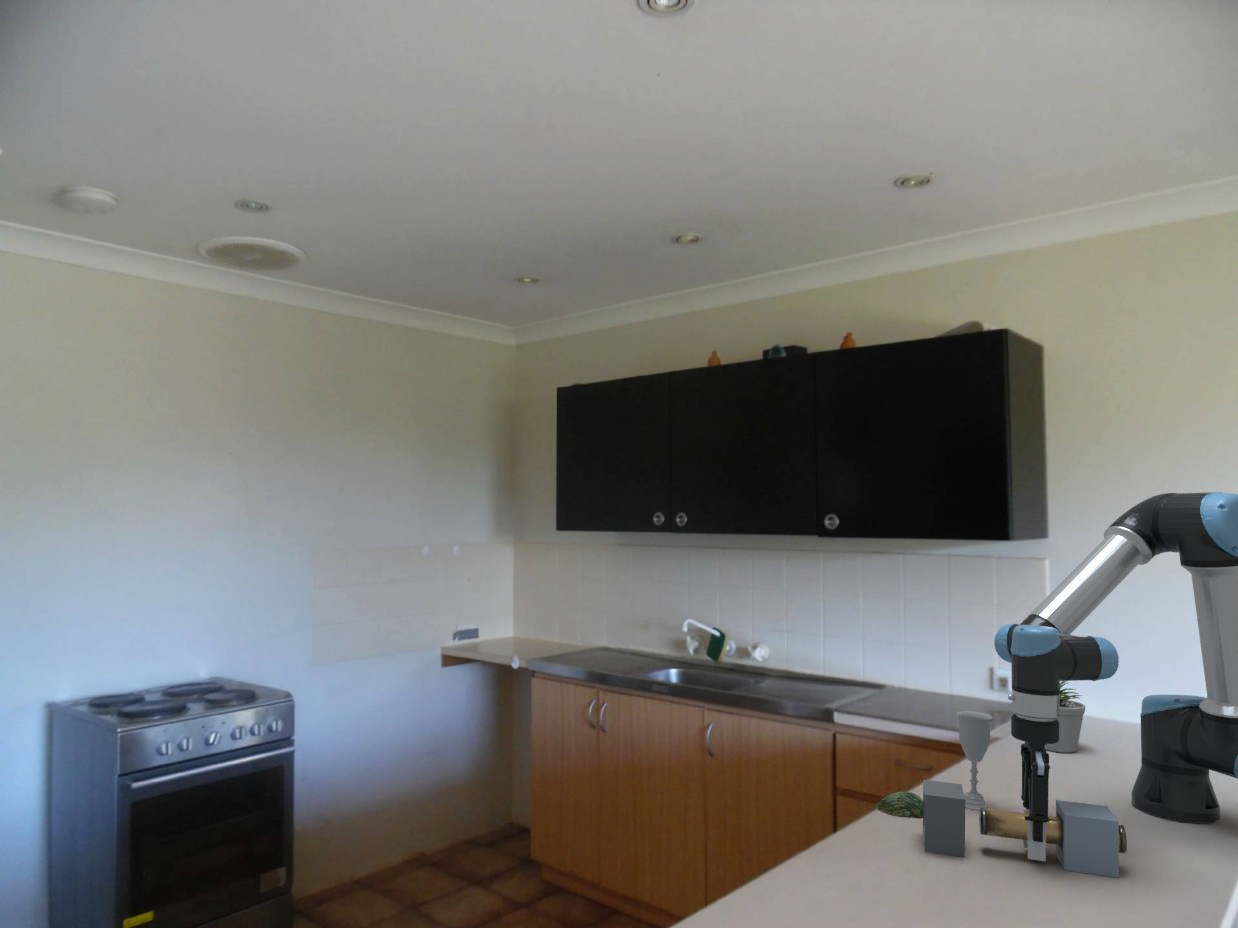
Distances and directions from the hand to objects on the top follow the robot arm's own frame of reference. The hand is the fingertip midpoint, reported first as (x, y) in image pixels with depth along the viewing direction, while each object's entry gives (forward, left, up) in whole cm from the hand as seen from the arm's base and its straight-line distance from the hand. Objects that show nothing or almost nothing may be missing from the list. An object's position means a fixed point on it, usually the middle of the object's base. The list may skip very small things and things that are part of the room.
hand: (1034, 853), depth 149 cm
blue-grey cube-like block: (-8, 0, -1) cm, 8 cm away
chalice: (+7, -25, -1) cm, 26 cm away
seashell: (+21, -17, -1) cm, 27 cm away
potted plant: (-17, -81, -1) cm, 83 cm away
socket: (+15, 0, -1) cm, 15 cm away
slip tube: (-2, 0, +2) cm, 3 cm away
